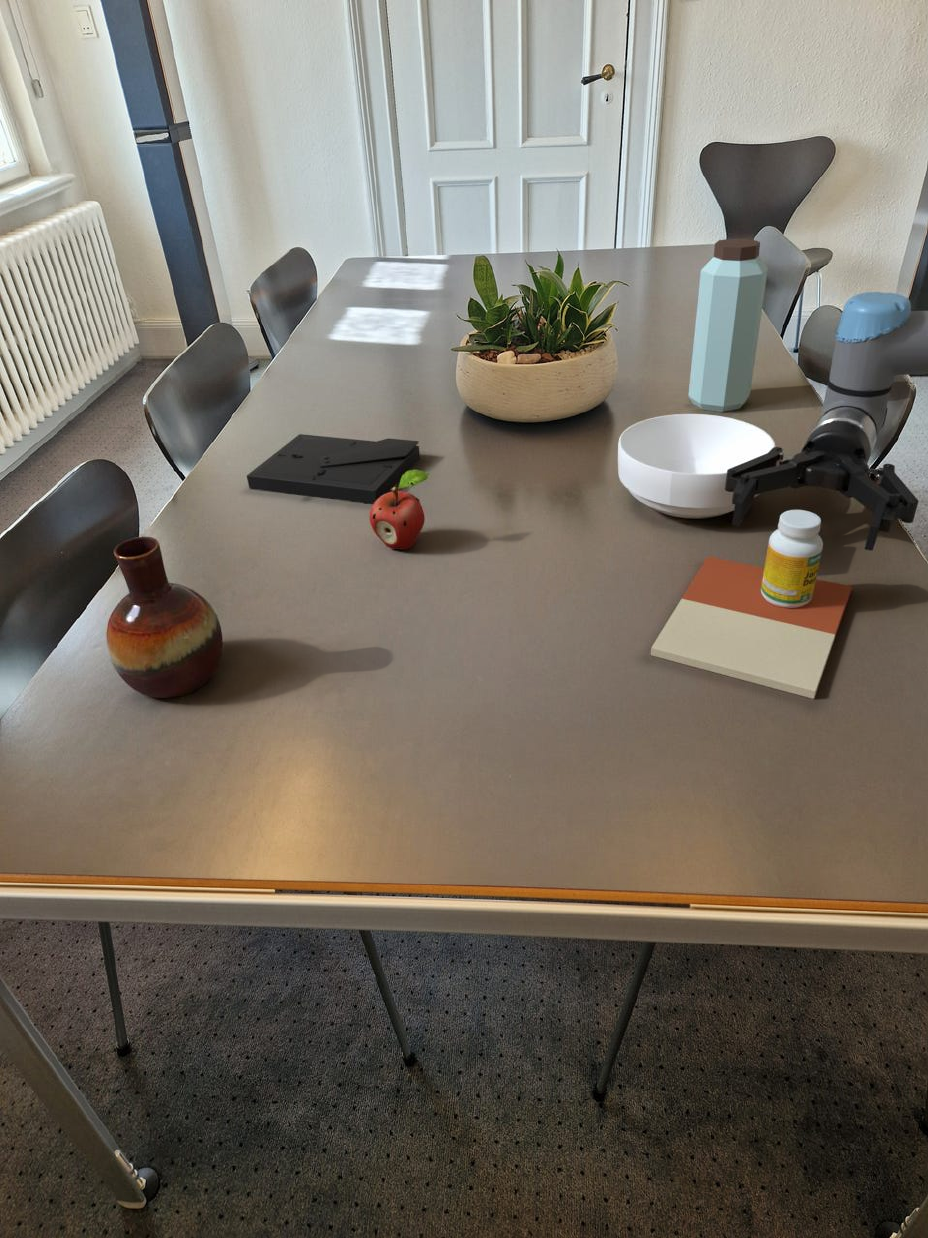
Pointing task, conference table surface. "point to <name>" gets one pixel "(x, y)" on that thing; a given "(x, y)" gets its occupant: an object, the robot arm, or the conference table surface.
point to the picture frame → (336, 467)
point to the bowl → (687, 461)
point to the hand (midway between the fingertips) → (801, 525)
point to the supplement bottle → (792, 560)
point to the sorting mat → (752, 629)
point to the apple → (399, 513)
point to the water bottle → (727, 325)
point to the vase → (160, 627)
